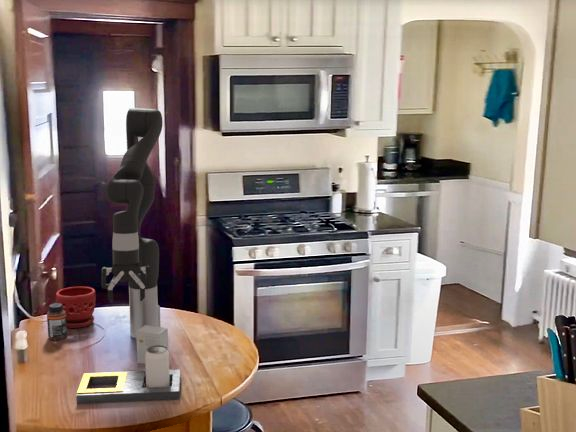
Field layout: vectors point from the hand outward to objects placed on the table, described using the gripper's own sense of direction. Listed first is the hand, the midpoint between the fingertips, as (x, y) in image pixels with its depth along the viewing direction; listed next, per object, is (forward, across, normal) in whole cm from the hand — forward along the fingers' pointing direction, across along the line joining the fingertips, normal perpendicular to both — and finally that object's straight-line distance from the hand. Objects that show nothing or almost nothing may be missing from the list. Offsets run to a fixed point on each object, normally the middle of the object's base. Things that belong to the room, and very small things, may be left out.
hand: (126, 301), depth 208 cm
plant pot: (+18, +15, -41) cm, 47 cm away
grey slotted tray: (+21, 0, +16) cm, 27 cm away
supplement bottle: (+19, +21, -29) cm, 41 cm away
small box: (+20, -8, -2) cm, 22 cm away
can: (+22, -8, +17) cm, 28 cm away
